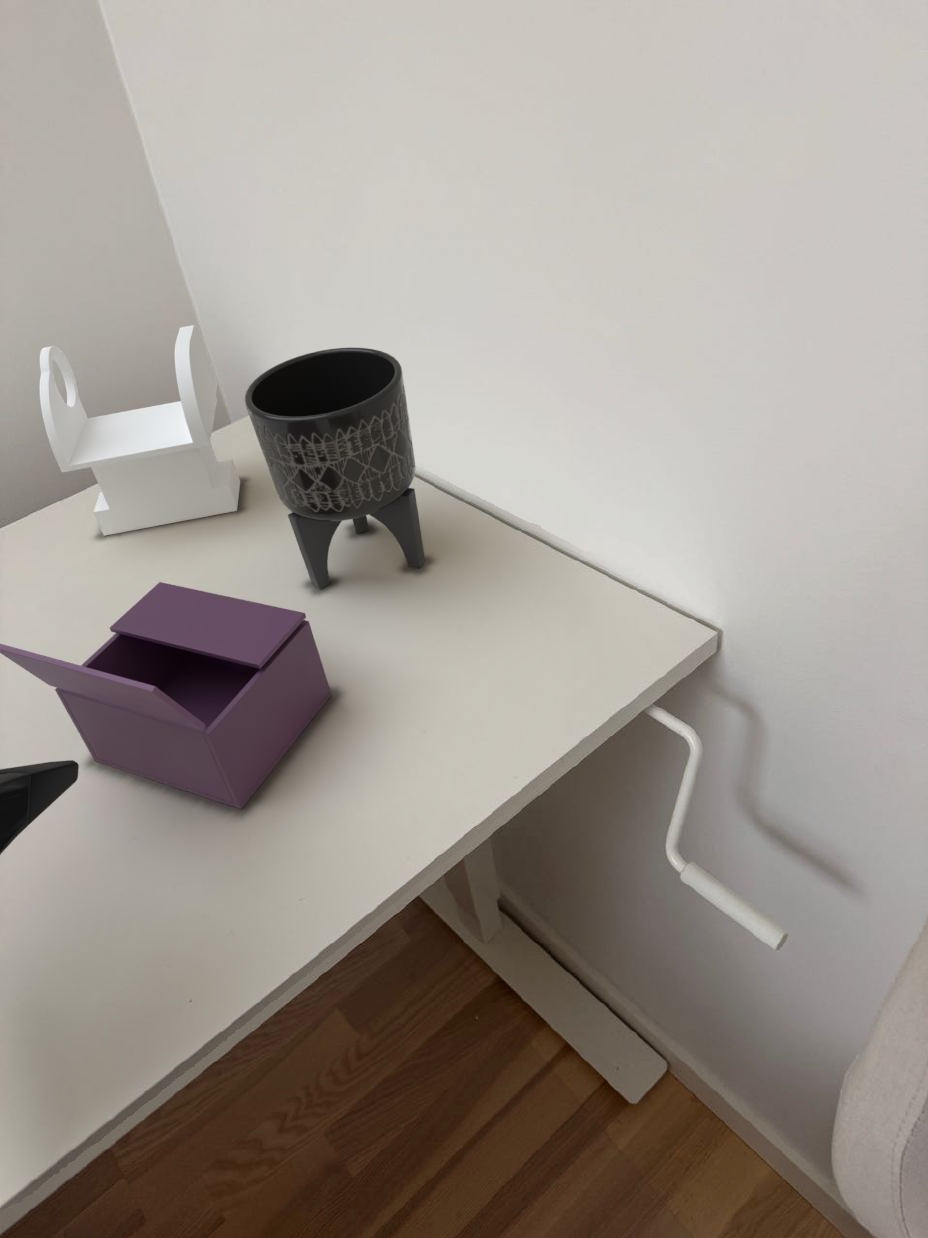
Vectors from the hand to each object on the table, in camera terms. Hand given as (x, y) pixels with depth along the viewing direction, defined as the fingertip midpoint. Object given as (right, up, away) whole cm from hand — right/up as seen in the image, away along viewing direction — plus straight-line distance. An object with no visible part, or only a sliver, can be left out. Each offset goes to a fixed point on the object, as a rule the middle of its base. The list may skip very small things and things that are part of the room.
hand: (28, 739), depth 53 cm
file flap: (+1, +3, +9) cm, 9 cm away
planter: (+15, +12, +35) cm, 40 cm away
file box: (+5, -2, +20) cm, 21 cm away
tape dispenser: (-6, +19, +48) cm, 52 cm away
